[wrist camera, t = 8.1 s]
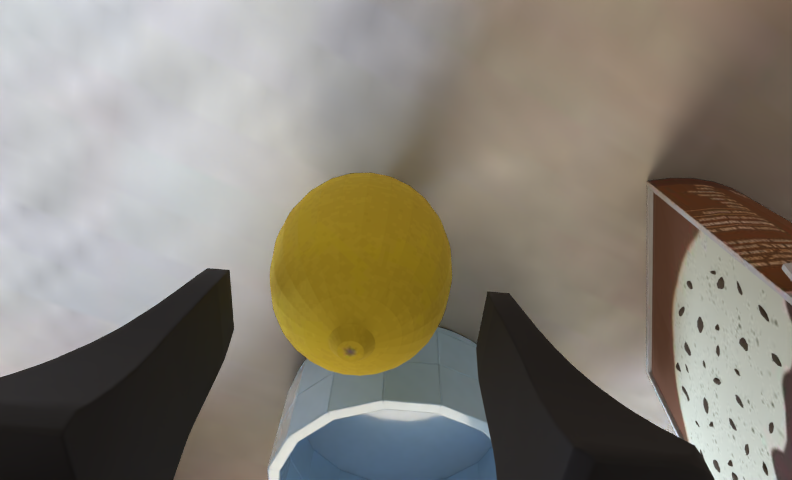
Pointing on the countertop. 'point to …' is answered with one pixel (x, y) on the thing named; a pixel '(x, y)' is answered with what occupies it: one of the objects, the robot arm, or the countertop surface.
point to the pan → (388, 421)
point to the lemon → (361, 274)
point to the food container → (721, 325)
